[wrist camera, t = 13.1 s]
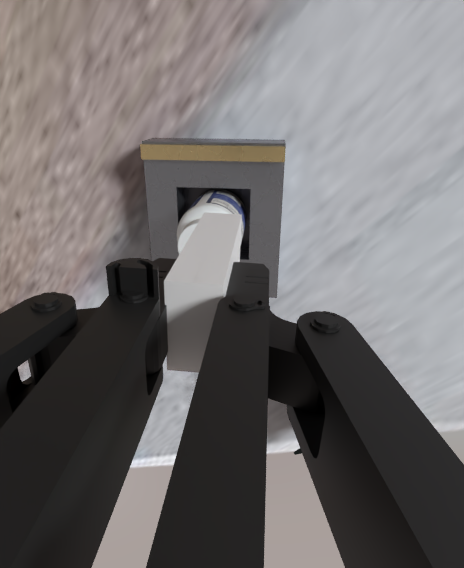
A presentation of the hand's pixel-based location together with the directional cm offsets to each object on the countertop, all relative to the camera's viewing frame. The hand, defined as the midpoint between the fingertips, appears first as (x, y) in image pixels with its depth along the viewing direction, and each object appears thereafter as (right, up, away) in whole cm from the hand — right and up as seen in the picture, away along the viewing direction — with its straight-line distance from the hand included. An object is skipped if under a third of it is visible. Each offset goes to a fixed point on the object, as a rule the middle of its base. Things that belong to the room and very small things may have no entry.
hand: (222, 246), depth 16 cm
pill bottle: (-1, +5, +23) cm, 24 cm away
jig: (-1, +5, +23) cm, 24 cm away
